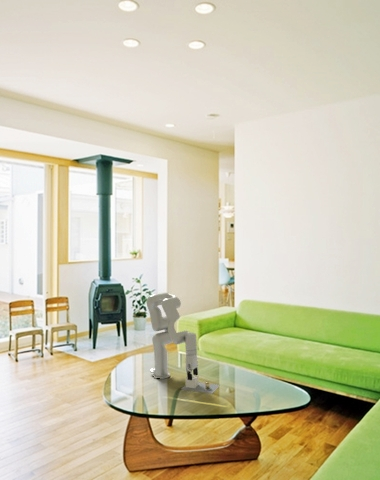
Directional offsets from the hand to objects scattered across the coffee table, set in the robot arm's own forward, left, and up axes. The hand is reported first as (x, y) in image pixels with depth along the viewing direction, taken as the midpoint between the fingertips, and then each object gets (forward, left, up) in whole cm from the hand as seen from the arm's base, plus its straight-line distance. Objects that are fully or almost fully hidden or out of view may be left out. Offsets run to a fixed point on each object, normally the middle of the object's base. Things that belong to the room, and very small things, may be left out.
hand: (192, 377), depth 264 cm
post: (+10, 0, -6) cm, 12 cm away
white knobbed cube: (-1, 0, -6) cm, 6 cm away
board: (+5, 0, -7) cm, 9 cm away
